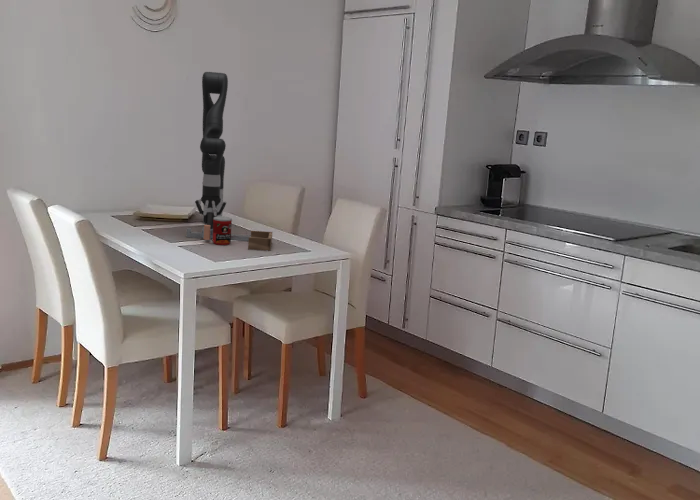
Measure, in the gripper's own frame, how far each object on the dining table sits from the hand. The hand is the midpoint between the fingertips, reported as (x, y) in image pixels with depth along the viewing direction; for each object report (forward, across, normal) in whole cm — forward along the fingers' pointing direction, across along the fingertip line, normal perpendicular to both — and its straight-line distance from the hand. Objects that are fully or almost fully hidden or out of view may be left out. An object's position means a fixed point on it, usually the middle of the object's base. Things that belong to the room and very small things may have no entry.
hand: (210, 223), depth 291 cm
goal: (+6, -23, +10) cm, 26 cm away
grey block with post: (+6, 0, +4) cm, 7 cm away
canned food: (+7, -6, +9) cm, 13 cm away
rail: (+6, -5, 0) cm, 8 cm away
